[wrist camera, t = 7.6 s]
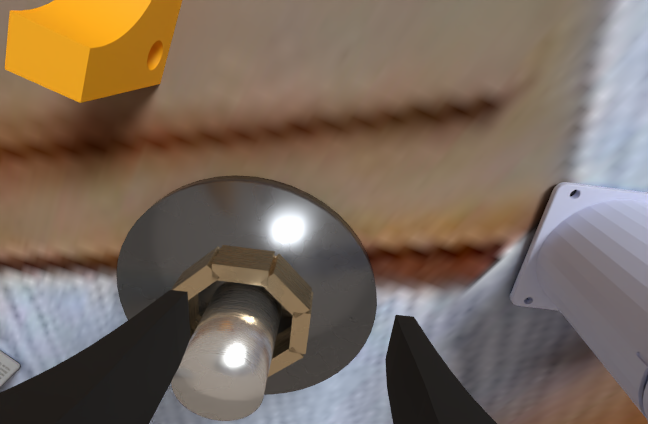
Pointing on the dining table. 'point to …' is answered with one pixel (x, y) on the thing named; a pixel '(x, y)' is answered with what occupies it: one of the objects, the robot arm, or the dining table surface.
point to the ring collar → (258, 268)
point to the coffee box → (7, 367)
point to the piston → (229, 353)
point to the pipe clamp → (92, 45)
